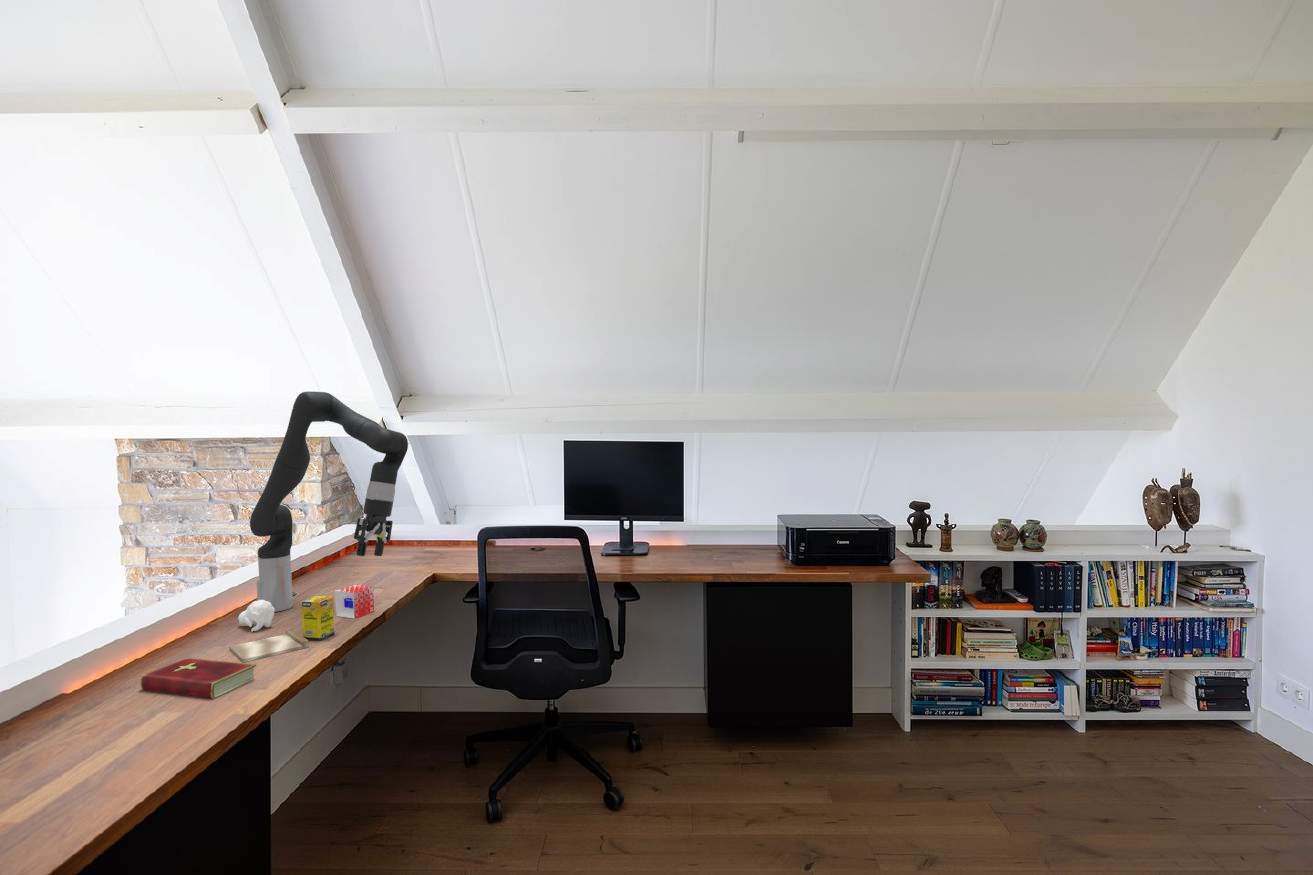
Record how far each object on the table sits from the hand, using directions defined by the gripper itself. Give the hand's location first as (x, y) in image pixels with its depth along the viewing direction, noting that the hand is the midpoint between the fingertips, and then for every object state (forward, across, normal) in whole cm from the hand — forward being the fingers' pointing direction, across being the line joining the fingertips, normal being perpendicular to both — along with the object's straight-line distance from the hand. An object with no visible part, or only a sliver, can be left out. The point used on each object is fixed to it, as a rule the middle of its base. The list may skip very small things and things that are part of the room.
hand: (369, 555), depth 200 cm
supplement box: (+24, -1, -11) cm, 27 cm away
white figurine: (+26, -6, -36) cm, 45 cm away
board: (+27, +10, -19) cm, 35 cm away
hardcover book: (+33, +33, -16) cm, 50 cm away
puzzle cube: (+20, -22, -15) cm, 33 cm away
